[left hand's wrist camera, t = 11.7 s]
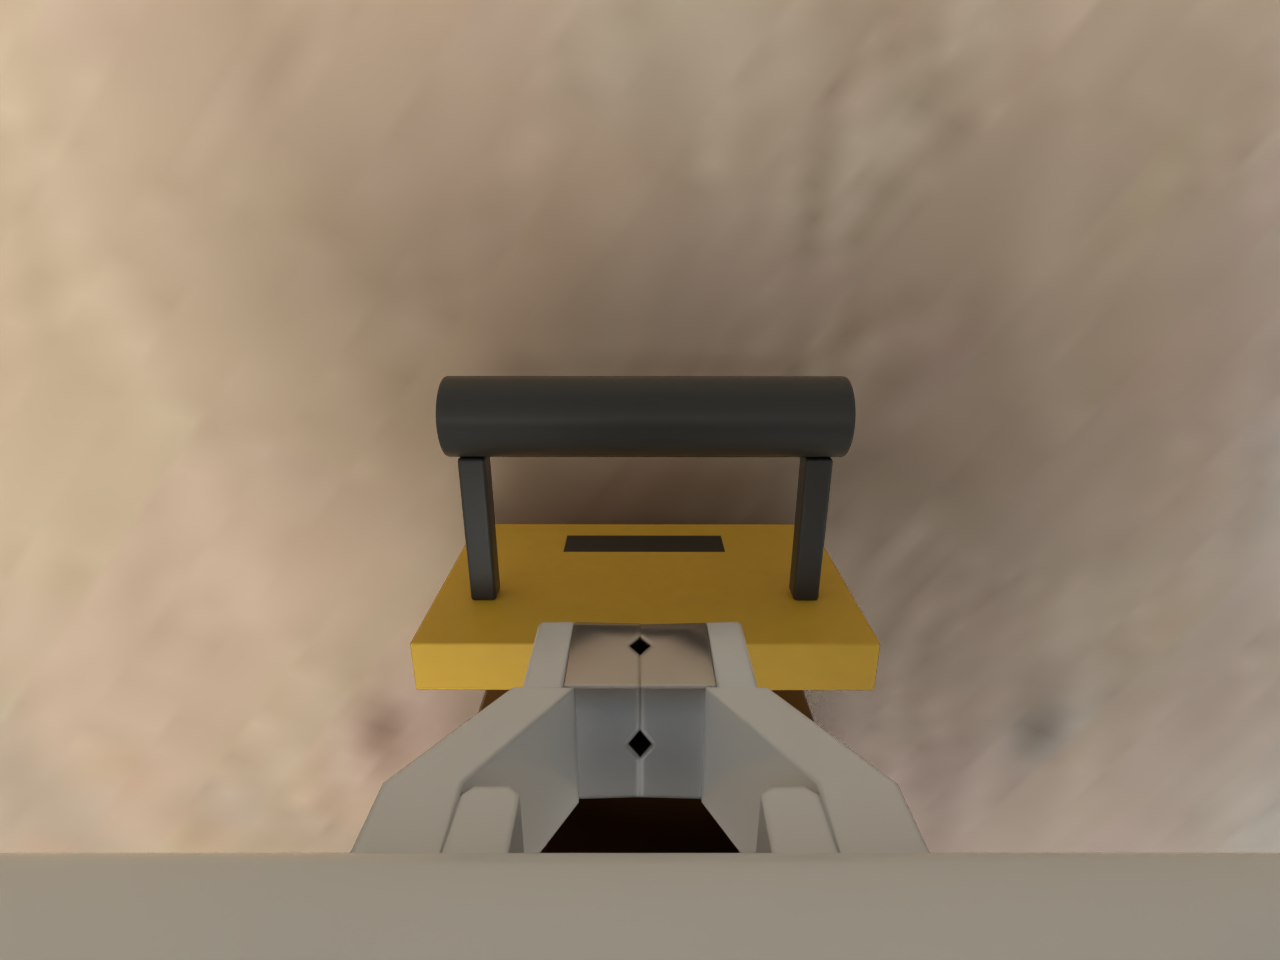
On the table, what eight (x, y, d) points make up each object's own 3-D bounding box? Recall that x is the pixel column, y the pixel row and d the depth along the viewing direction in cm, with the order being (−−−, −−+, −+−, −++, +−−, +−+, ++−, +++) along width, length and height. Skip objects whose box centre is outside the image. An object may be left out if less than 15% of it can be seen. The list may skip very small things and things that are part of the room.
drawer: (460, 345, 18) (375, 399, 12) (828, 345, 18) (916, 400, 12) (513, 931, 26) (477, 1133, 20) (771, 932, 26) (809, 1134, 20)
